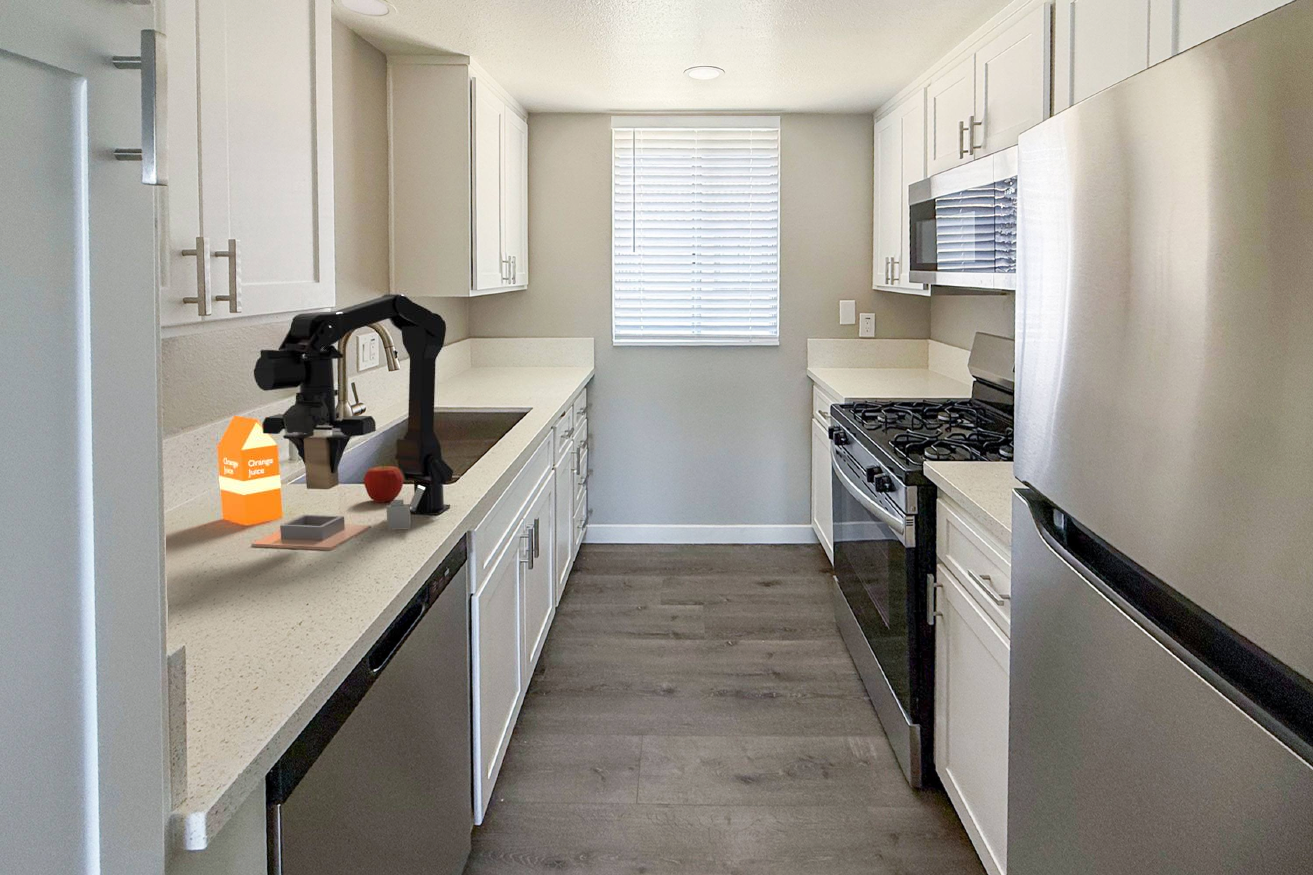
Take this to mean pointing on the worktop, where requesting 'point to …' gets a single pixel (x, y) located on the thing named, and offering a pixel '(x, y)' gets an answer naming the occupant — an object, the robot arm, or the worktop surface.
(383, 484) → the apple
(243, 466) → the orange juice
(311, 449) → the wooden block
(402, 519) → the lighter
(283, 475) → the worktop surface
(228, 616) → the worktop surface
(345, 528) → the block holder
